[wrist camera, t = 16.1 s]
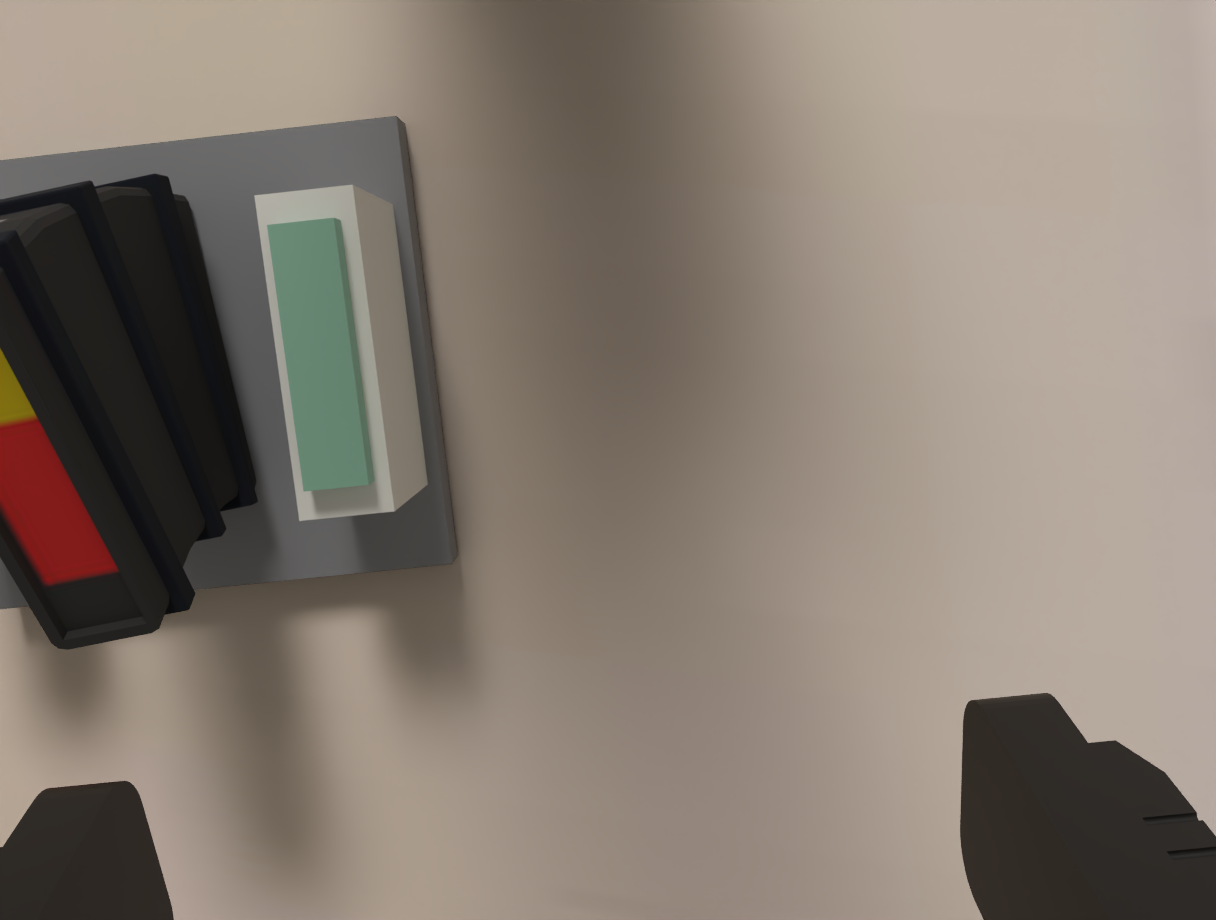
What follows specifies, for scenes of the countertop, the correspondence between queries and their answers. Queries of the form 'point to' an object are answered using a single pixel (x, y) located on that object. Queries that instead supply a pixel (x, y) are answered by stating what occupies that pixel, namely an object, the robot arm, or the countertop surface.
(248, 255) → the mounting plate
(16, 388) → the magazine
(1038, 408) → the countertop surface
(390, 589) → the countertop surface
